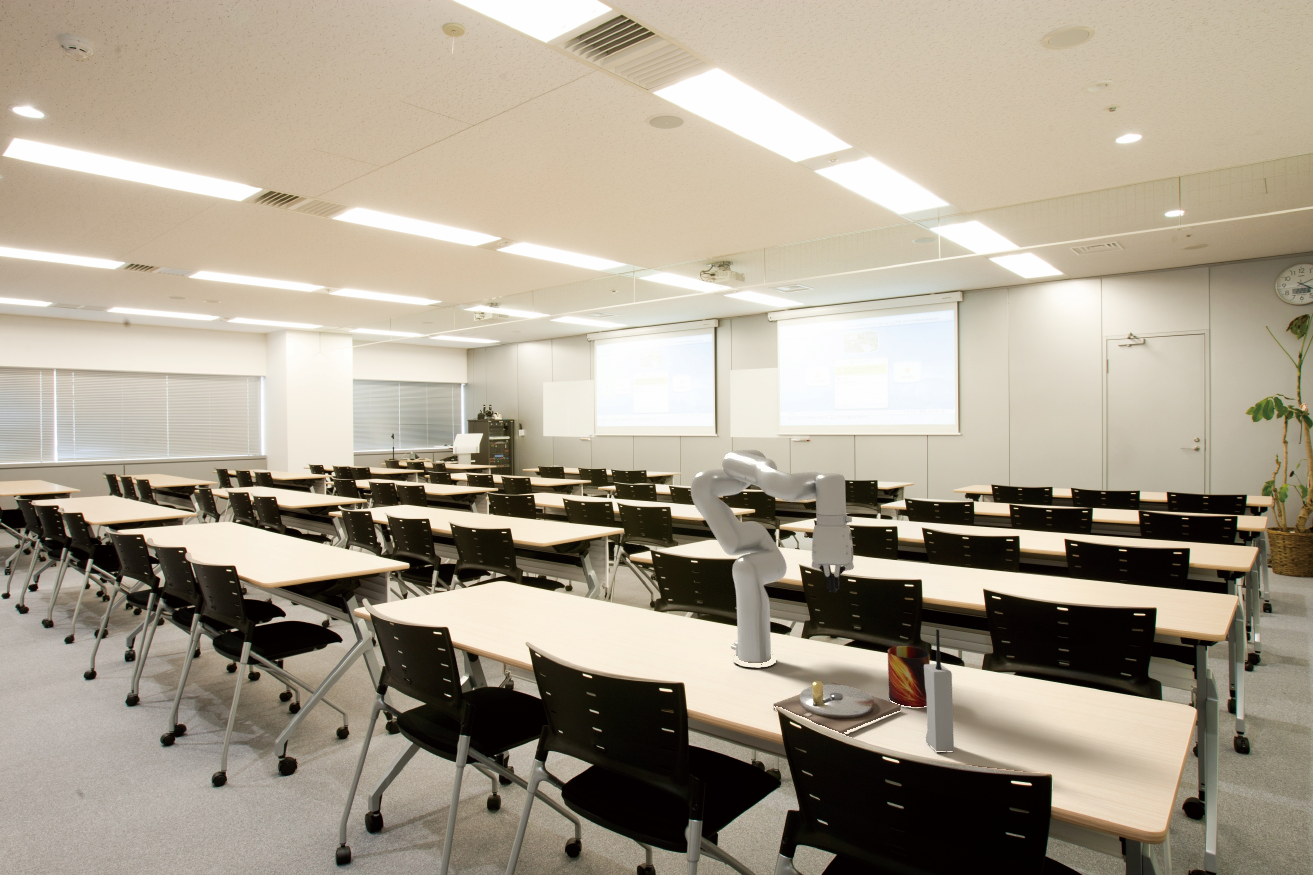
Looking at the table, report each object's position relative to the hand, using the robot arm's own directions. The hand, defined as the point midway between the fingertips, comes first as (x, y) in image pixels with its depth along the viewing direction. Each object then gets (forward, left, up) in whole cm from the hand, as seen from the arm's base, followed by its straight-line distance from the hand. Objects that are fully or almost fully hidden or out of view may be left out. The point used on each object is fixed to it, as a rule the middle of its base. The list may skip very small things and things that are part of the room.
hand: (833, 590), depth 178 cm
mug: (+20, +7, -25) cm, 33 cm away
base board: (+10, -12, -25) cm, 30 cm away
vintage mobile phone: (+36, -11, -25) cm, 45 cm away
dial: (+10, -12, -24) cm, 28 cm away
